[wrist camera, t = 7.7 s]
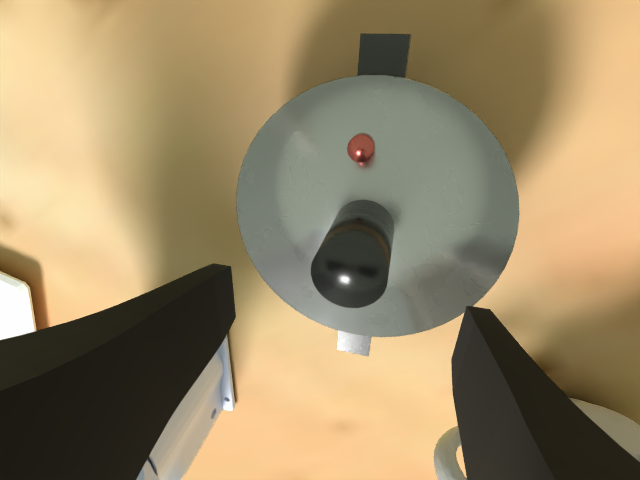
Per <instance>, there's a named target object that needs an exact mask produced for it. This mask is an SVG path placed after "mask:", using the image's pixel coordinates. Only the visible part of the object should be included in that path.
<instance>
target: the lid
mask: <svg viewBox="0 0 640 480" xmlns="http://www.w3.org/2000/svg"><path fill="white" fill-rule="evenodd" d="M237 217H238V224H239V228H240V232H241V236H242V240H243V242H244V245H245V248H246V250H247V253H248V255H249V257H250V259H251V261H252V262H253V264H254V266H255V268H256V269H257V271H258V272H259V274H260V275H261V277H262V278H263V279H264V281H265V282H266V283H267V284H268V285H269V287H270V288H271V289H272V290H273V291H274V292H275V293H276V294H277V295H278V296H279V297H280V298H281V299H282V300H283V301H285V302H286V303H287V304H288V305H290V306H291V307H292V308H294V309H295V310H296V311H298V312H300V313H301V314H303V315H304V316H306V317H308V318H310V319H312V320H314V321H316V322H318V323H320V324H322V325H324V326H327V327H330V328H332V329H335V330H339V331H342V332H346V333H350V334H356V335H362V336H372V337H395V336H403V335H410V334H415V333H419V332H423V331H426V330H430V329H432V328H435V327H437V326H440V325H443V324H445V323H447V322H449V321H450V320H452V319H454V318H456V317H458V316H460V315H461V314H462V313H464V312H465V310H466V306H473V305H475V304H476V303H477V302H478V301H479V300H480V299H481V298H482V297H483V296H484V295H485V294H486V293H487V292H488V291H489V290H490V288H491V287H492V286H493V285H494V284H495V282H496V281H497V279H498V278H499V276H500V275H501V273H502V271H503V270H504V268H505V267H506V264H507V262H508V260H509V257H510V255H511V253H512V251H513V247H514V243H515V239H516V236H517V231H518V222H519V198H518V191H517V186H516V181H515V177H514V174H513V171H512V168H511V166H510V163H509V161H508V158H507V156H506V154H505V152H504V151H503V149H502V147H501V145H500V144H499V142H498V140H497V138H496V137H495V136H494V135H493V133H492V132H491V131H490V130H489V129H488V127H487V126H486V125H485V124H484V122H483V121H482V120H481V119H480V118H478V117H477V116H476V115H475V114H474V113H473V112H472V111H471V110H470V109H468V108H467V107H466V106H465V105H463V104H462V103H460V102H459V101H457V100H456V99H454V98H453V97H451V96H450V95H448V94H447V93H445V92H443V91H441V90H438V89H436V88H434V87H432V86H430V85H427V84H425V83H421V82H418V81H414V80H411V79H408V78H403V77H395V76H388V75H360V76H354V77H347V78H340V79H337V80H333V81H330V82H327V83H324V84H320V85H318V86H316V87H314V88H312V89H309V90H307V91H305V92H303V93H301V94H300V95H298V96H297V97H295V98H294V99H292V100H291V101H289V102H287V103H286V104H285V105H283V106H282V107H281V108H280V109H279V110H278V111H277V112H276V113H275V114H273V115H272V116H271V117H270V118H269V120H268V121H267V122H266V123H265V124H264V126H263V127H262V128H261V129H260V130H259V132H258V134H257V135H256V137H255V138H254V140H253V142H252V143H251V145H250V147H249V149H248V151H247V154H246V156H245V158H244V161H243V164H242V167H241V171H240V175H239V179H238V187H237Z"/></svg>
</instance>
